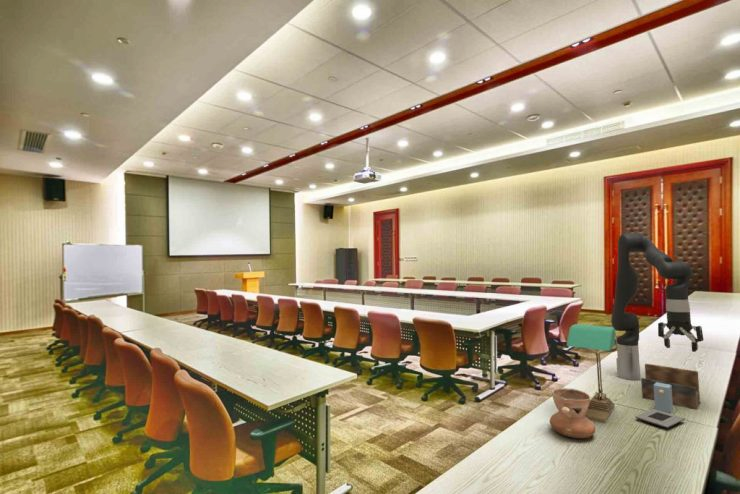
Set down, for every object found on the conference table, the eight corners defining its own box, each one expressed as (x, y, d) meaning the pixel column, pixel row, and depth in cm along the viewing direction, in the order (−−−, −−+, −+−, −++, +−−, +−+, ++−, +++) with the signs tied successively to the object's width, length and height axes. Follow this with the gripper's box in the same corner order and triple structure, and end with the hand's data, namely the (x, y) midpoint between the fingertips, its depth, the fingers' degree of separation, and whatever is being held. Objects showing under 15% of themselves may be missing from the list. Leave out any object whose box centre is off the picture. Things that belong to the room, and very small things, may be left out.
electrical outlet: (667, 432, 130) (667, 425, 130) (635, 421, 139) (634, 415, 139) (685, 424, 136) (685, 417, 136) (653, 414, 145) (652, 408, 146)
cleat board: (642, 398, 160) (640, 368, 161) (647, 392, 167) (645, 363, 168) (696, 409, 147) (694, 377, 148) (700, 402, 154) (697, 371, 154)
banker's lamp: (625, 409, 149) (619, 324, 151) (615, 427, 134) (609, 332, 136) (582, 400, 160) (577, 320, 162) (568, 416, 145) (563, 328, 146)
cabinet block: (654, 410, 147) (652, 385, 148) (657, 406, 151) (656, 382, 152) (670, 414, 144) (668, 388, 144) (673, 409, 148) (671, 384, 148)
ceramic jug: (590, 448, 120) (588, 405, 121) (543, 435, 130) (542, 395, 131) (600, 430, 134) (599, 390, 134) (557, 419, 143) (556, 382, 144)
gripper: (653, 309, 155) (656, 348, 154) (696, 312, 142) (700, 354, 142) (661, 307, 158) (663, 345, 158) (703, 310, 146) (706, 351, 146)
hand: (680, 349), depth 150 cm, fingers open, 8 cm apart
